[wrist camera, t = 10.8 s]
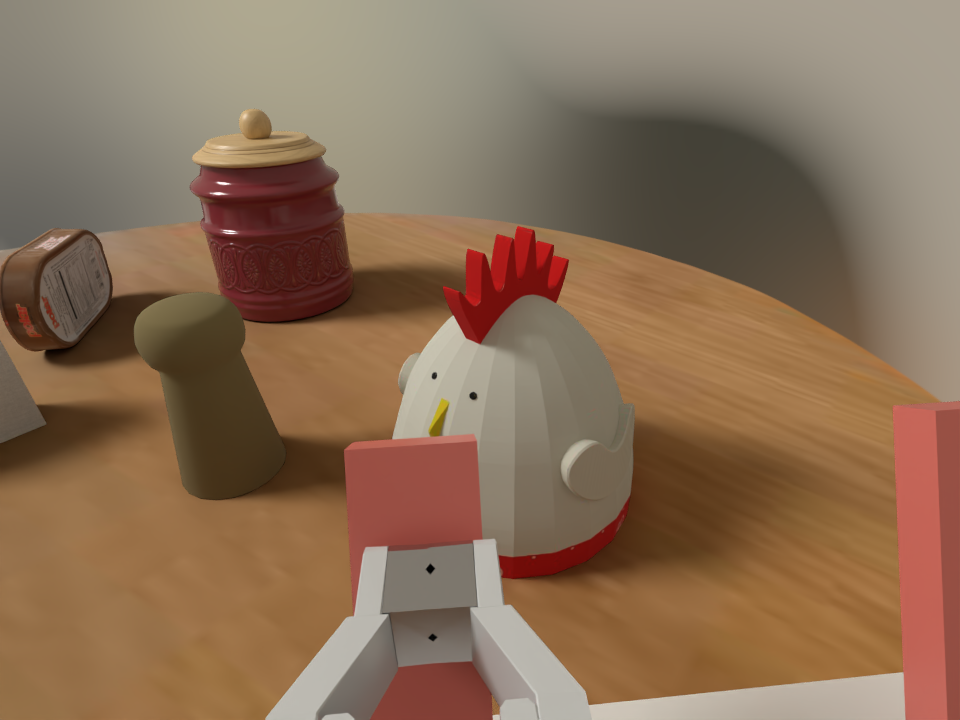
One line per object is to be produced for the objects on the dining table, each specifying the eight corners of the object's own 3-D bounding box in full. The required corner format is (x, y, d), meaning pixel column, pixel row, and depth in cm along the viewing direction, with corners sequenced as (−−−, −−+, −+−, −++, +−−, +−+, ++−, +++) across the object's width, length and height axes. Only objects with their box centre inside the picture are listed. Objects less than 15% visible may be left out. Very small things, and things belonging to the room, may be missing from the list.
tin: (94, 297, 55) (60, 217, 51) (127, 293, 56) (96, 214, 51) (24, 371, 43) (-29, 273, 38) (68, 365, 43) (21, 269, 39)
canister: (370, 275, 59) (348, 101, 50) (330, 327, 48) (293, 118, 39) (261, 271, 61) (220, 102, 52) (197, 322, 50) (131, 118, 41)
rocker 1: (372, 947, 12) (344, 449, 12) (378, 893, 13) (352, 441, 13) (504, 930, 12) (477, 440, 12) (499, 878, 13) (474, 433, 13)
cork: (301, 469, 32) (260, 305, 27) (195, 516, 29) (123, 342, 23) (267, 421, 36) (226, 271, 31) (171, 458, 33) (105, 298, 27)
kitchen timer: (345, 484, 31) (296, 237, 23) (496, 386, 40) (497, 182, 32) (531, 635, 23) (551, 334, 15) (671, 471, 32) (728, 226, 24)
